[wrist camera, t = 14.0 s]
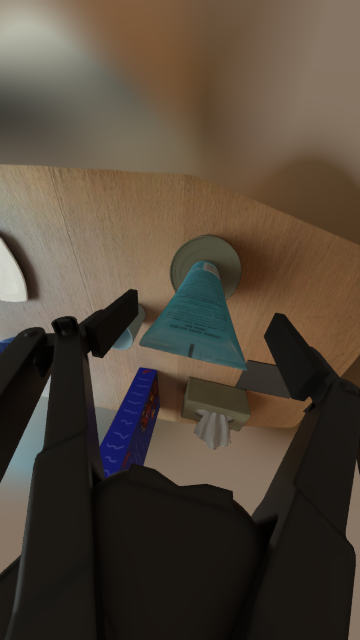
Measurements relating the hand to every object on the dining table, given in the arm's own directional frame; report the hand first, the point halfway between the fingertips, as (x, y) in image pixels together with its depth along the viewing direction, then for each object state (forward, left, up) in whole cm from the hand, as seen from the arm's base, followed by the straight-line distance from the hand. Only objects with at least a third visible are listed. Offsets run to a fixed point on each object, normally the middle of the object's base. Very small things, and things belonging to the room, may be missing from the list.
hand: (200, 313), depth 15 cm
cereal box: (+12, +46, -20) cm, 52 cm away
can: (0, 0, -20) cm, 20 cm away
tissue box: (-10, +40, -20) cm, 46 cm away
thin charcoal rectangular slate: (-24, +29, -20) cm, 43 cm away
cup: (+16, +14, -20) cm, 30 cm away
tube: (0, 0, -14) cm, 14 cm away
